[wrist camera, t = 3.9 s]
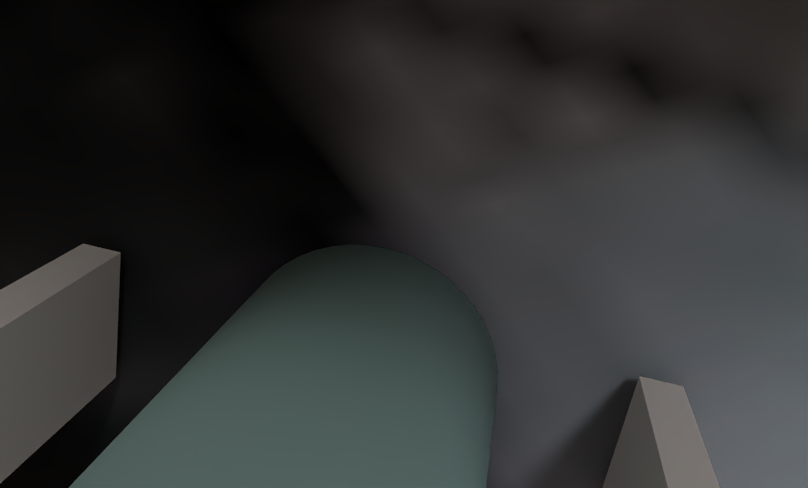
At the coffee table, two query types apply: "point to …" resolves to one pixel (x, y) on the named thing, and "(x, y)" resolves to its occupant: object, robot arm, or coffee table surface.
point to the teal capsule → (324, 387)
